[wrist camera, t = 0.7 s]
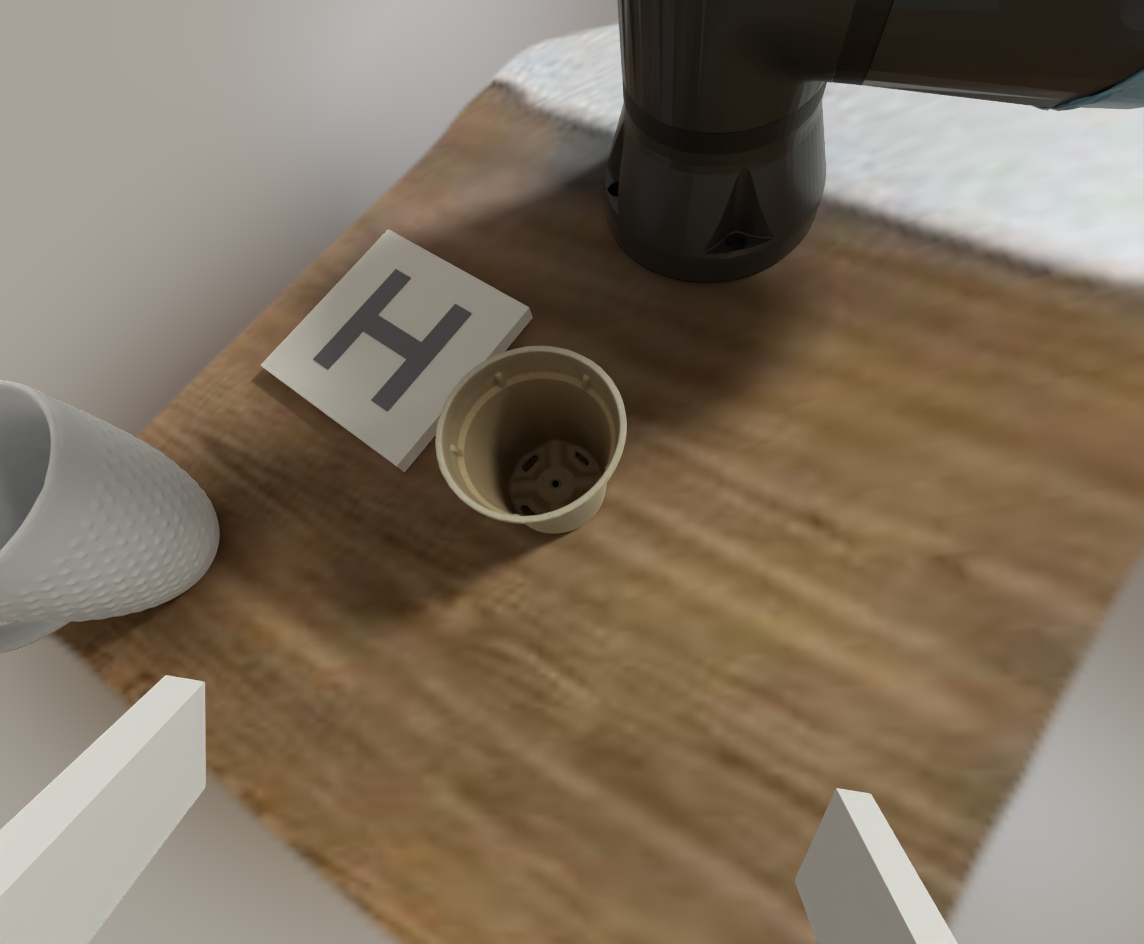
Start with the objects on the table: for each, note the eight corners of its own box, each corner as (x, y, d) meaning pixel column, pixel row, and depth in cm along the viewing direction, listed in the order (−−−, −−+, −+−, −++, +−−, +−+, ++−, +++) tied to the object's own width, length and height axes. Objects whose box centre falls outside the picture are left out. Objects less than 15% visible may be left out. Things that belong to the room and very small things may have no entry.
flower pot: (515, 402, 38) (477, 327, 29) (651, 437, 35) (650, 366, 27) (462, 533, 35) (404, 490, 27) (605, 580, 33) (589, 548, 25)
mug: (95, 720, 34) (-217, 744, 22) (25, 595, 38) (-276, 556, 26) (283, 541, 36) (96, 473, 24) (200, 440, 40) (1, 337, 28)
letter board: (394, 240, 44) (387, 228, 43) (532, 317, 40) (529, 307, 38) (270, 373, 41) (259, 364, 40) (404, 472, 37) (396, 465, 36)
